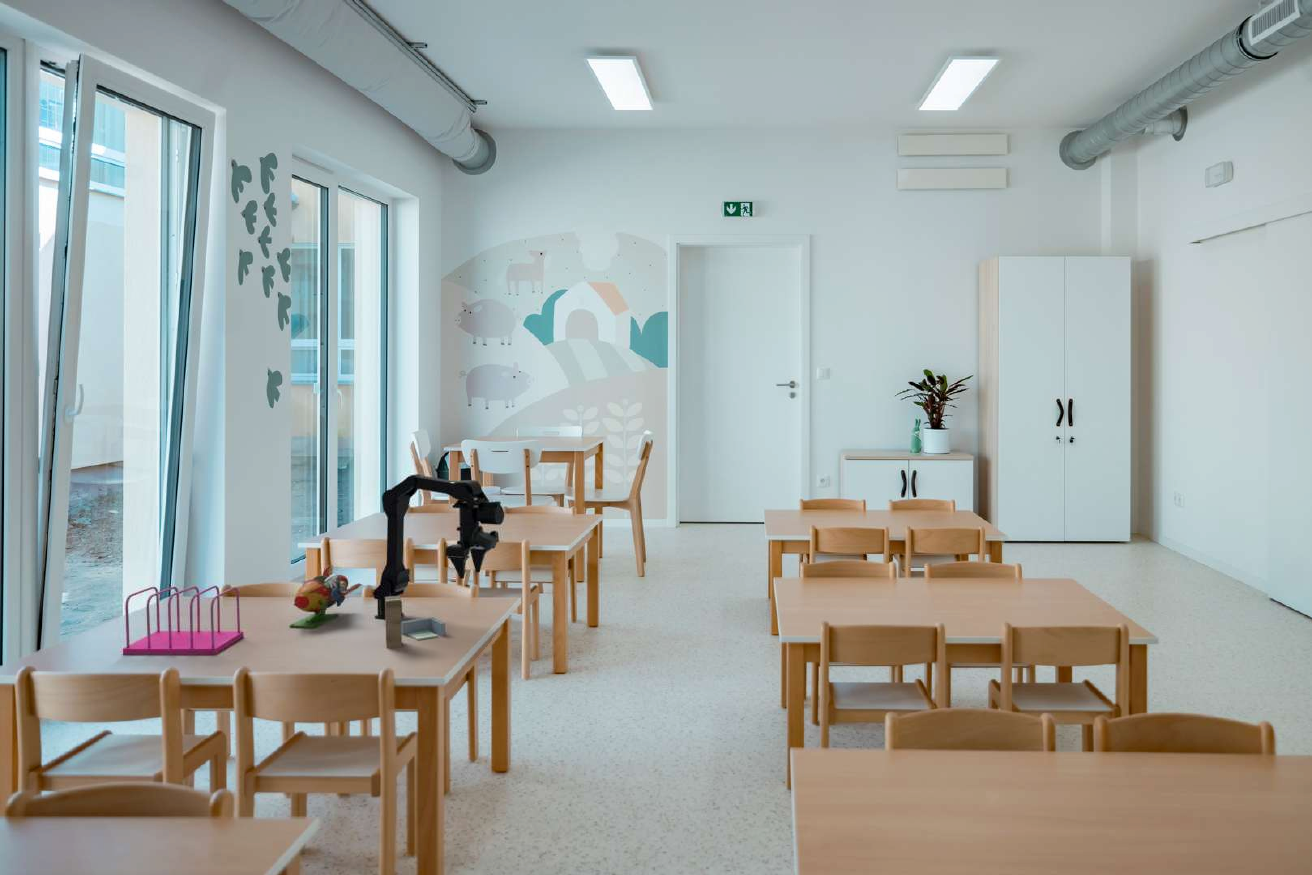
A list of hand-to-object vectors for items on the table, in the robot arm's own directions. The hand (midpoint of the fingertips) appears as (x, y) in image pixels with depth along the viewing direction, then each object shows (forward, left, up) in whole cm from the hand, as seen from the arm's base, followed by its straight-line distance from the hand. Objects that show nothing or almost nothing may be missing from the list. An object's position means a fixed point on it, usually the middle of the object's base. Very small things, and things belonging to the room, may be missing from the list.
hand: (470, 575), depth 287 cm
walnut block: (-9, -27, -15) cm, 32 cm away
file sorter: (-63, -45, -15) cm, 79 cm away
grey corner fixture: (-7, -15, -15) cm, 22 cm away
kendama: (-63, +18, -15) cm, 68 cm away
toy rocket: (-45, -11, -15) cm, 49 cm away
